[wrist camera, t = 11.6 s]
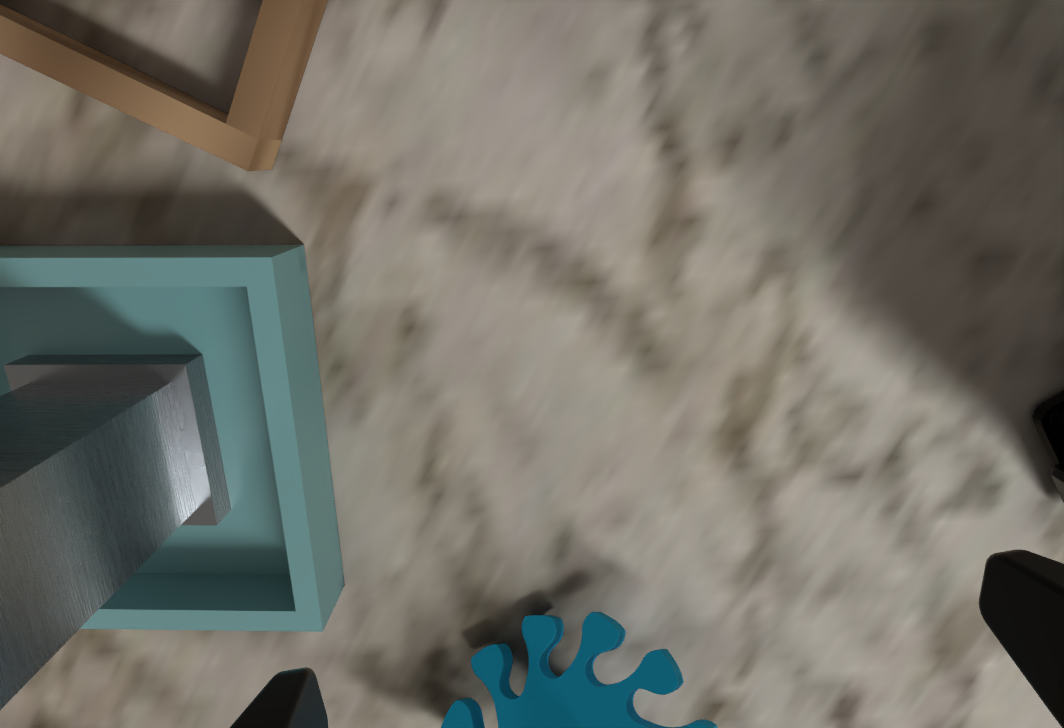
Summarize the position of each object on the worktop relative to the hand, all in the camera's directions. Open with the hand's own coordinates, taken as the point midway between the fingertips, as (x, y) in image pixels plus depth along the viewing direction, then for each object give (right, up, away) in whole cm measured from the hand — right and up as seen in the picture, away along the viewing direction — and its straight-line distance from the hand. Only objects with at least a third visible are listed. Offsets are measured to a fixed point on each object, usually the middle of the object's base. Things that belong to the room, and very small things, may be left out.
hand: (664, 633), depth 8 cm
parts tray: (-15, +1, +13) cm, 20 cm away
